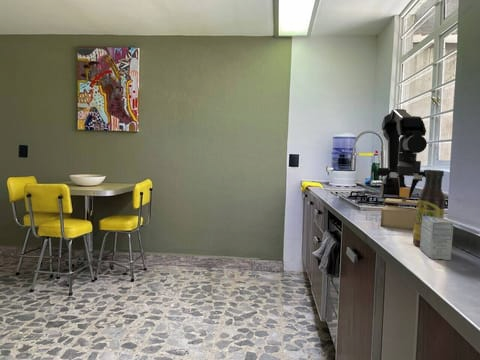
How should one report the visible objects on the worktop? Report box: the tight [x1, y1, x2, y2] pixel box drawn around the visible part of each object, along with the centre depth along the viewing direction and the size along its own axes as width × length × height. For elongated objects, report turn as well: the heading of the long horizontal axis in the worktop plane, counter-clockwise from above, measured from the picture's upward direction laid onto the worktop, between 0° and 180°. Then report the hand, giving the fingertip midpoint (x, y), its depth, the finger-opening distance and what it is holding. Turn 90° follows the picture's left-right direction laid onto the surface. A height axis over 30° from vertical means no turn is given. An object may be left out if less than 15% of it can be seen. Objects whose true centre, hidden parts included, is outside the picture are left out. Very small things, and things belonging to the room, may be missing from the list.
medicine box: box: [419, 216, 454, 261], centre depth 81 cm, size 8×4×9 cm, turn 168°
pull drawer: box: [385, 187, 418, 206], centre depth 121 cm, size 7×12×5 cm, turn 63°
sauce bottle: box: [412, 168, 446, 247], centre depth 89 cm, size 6×6×20 cm
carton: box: [380, 205, 417, 231], centre depth 117 cm, size 15×12×6 cm
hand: (404, 197), depth 121 cm, fingers closed on pull drawer, 3 cm apart
